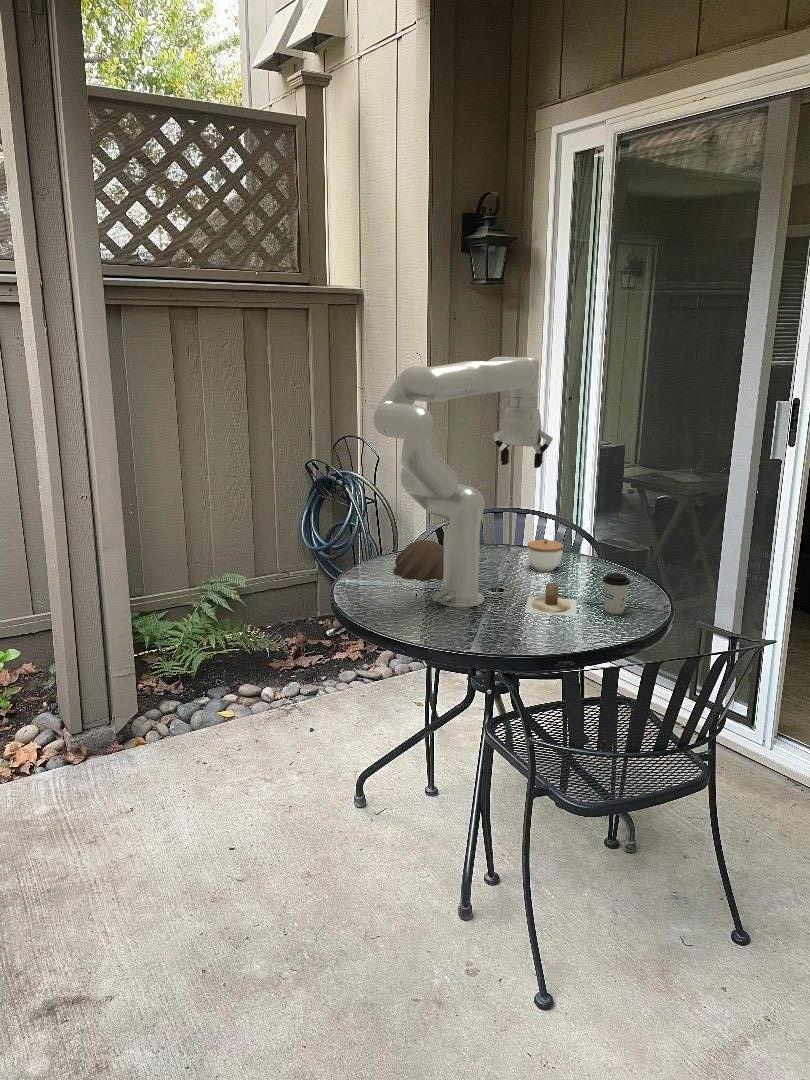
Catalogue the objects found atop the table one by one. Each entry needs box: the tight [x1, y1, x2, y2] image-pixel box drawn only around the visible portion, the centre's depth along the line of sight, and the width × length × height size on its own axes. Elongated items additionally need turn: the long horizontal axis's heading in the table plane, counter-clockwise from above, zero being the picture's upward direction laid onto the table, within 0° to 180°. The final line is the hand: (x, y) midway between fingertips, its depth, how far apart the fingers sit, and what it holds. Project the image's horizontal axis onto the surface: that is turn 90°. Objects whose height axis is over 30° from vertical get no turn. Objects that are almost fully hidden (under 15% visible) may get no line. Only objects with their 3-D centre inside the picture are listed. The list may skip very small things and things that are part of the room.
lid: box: [532, 582, 571, 612], centre depth 205 cm, size 10×10×6 cm
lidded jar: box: [527, 538, 564, 572], centre depth 239 cm, size 11×11×9 cm
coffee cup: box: [602, 572, 631, 615], centre depth 201 cm, size 7×7×10 cm
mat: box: [524, 596, 578, 617], centre depth 205 cm, size 13×13×1 cm
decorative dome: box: [393, 539, 444, 582], centre depth 236 cm, size 19×20×10 cm
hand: (521, 465), depth 216 cm, fingers open, 9 cm apart
